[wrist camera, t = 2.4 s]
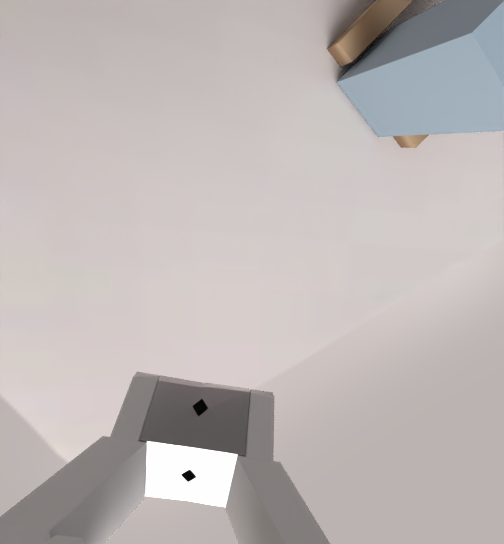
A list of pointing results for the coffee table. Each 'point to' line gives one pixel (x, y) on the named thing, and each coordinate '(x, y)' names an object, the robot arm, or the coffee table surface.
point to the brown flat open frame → (360, 37)
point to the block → (434, 73)
